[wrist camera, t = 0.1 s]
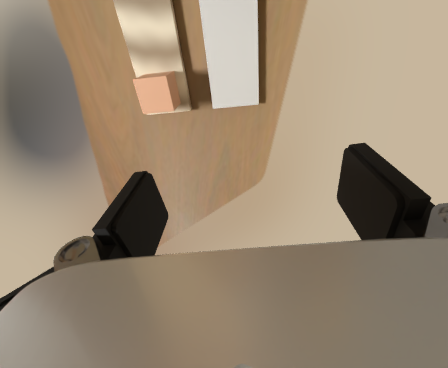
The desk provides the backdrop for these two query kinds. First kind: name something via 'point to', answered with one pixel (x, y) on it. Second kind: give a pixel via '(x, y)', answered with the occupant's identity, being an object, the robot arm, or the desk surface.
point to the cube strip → (154, 41)
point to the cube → (157, 92)
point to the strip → (231, 51)
